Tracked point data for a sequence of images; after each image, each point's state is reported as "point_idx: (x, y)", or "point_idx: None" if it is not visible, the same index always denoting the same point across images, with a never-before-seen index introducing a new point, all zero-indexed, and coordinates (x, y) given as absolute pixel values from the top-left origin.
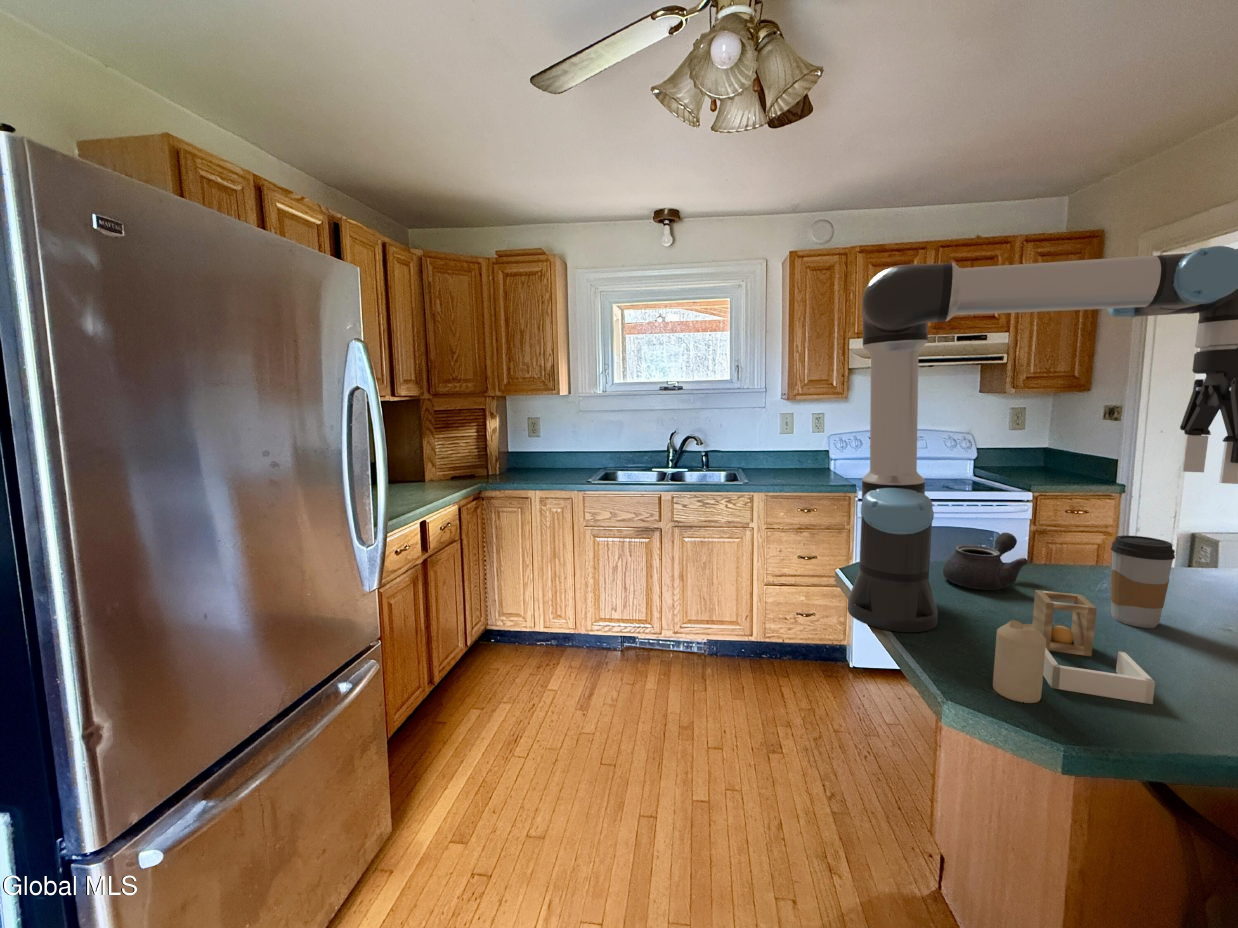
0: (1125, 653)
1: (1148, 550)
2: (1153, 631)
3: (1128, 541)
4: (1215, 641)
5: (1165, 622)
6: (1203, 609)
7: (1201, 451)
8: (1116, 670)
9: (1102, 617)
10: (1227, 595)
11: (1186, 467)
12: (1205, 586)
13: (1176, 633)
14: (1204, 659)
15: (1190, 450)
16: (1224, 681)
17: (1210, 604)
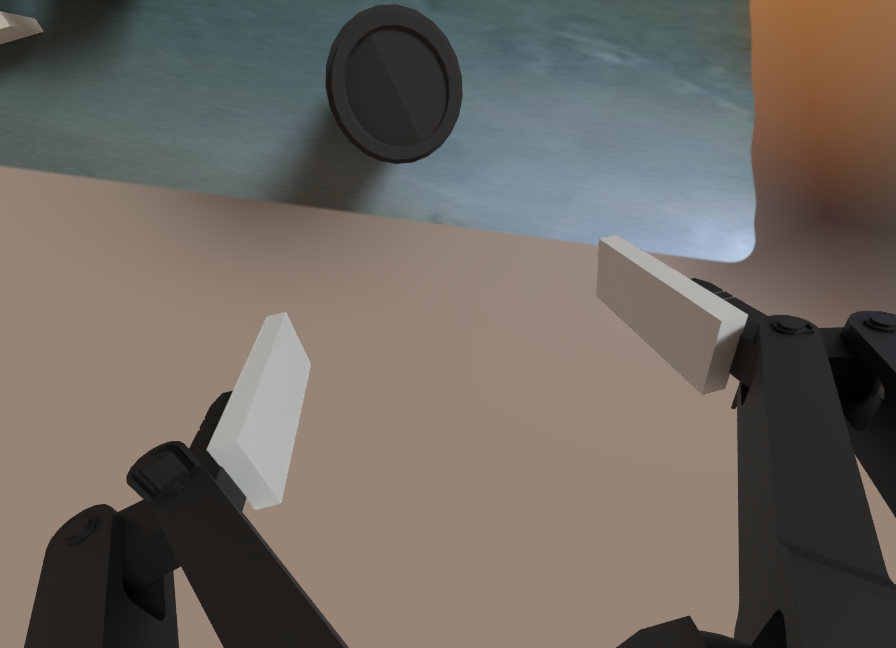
0: (4, 26)
1: (332, 97)
2: None
3: (376, 48)
4: (364, 200)
5: None
6: (526, 206)
7: (648, 328)
8: (31, 18)
9: None
10: None
11: (609, 254)
12: (660, 226)
13: None
14: (257, 173)
15: (657, 295)
16: (174, 184)
17: (560, 219)
